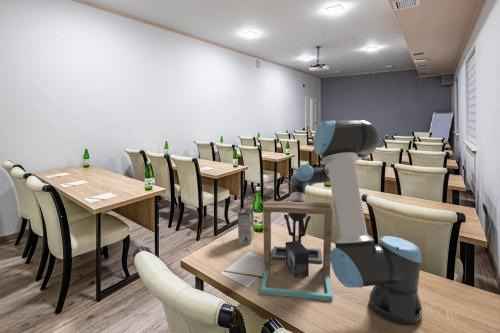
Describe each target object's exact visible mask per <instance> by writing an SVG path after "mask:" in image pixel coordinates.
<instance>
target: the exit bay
mask: <svg viewBox="0 0 500 333" xmlns="http://www.w3.org/2000/svg"><path fill="white" fill-rule="evenodd" d="M263 272H264V271H263ZM269 273H270V270H265V272H264V273H263V278H262V282H261V285H260V291H259V292H260V294H265V295H273V296H274V295H275V296H281V297H282V296H284V297H294V298H301V299H302V298H305V299H314V300H323V301H332V302H333V299H334V298H333V291H332V286H331V281H330V280H331V278H329V275H325V277H324V281H325V282H324V283H325V289H326V292H325V293H324V292H315V291H306V290H298V289H297V290H295V289H287V288H286V289H285V288H276V287H267V284H268V279H269Z"/></svg>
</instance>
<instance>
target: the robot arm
mask: <svg viewBox="0 0 500 333" xmlns="http://www.w3.org/2000/svg"><path fill="white" fill-rule="evenodd" d="M312 142H313V145H312V146H313V151H314V153H315V154H316V155H318V156H320V157H321V160H322V163H323V164H326V165H325V166H324V167H312V166H311V165H308V164H301V165H299V167H298V168H297V170H296V171H295V173H294V174H293V175H292V176H291V177H290V181H289V182H290V190H289V202H306V188H307V186H308V184H310V185H311V184H325V183H326V184H329V183H330V189H331V196H332V200H333V208H334V214H335V218H336V219H335V220H336V225H337V226H336V227H337V232H338V238H337V239H336V240H335V241H334V245H335V247H334V248H331V253H330V254H331V255H330V266H331V268H332V270H333V273H334V275H335V277H336V278H337V280H338V282H339V283H340V284H341V285H343V286H344V287H346V288H350V289H351V288H353V289H354V288H359V289H360V288H361V289H362V288H364V287H372V286H373V287H372V289H371V291H370V293H369V300H368V301H369V306H370V308H371V309H372V311H374V313H376V314H377V315H378V316H380V317H381V318H382V319H384V320H387V321H389V322H392V323H395V324H398V325H404V326H405V325H406V326H407V325H408V326H411V325H416V324H417V323H419V322H420V321H421V320H422V318H423V307H422V303H421V299H420V296H419V293H418V292H419V279H420V272H421V264H422V260H421V258H422V255H421V253H422V252H421V249H420V248H419V247H418V246H417V245H416V244H415V243H413V242H412V241H409V240H406V239H404V238H400V237H398V236H397V237H396V236H390V235H384V236H381V237H380V238H379V239H378V243H377V244H375V240H374V238H373V237H372V236H370V235H369V234H368V231H367V225H366V221H365V220H366V218H365V215H364V208H363V204H362V197H361V192H360V187H359V182H358V176H357V171H356V166H355V164H356V163H357V162H358V161H359V160H361V159H362V158H363V159H364V158H367V157H368V156H370V155H371V154H372V153H374V151H375V150H376V149H377V147H378V146H379V142H380V134H379V131H378V129H377V127H376V126H375V125H374V124H373V123H371V122H369V121H367V120H364V119H363V120H362V119H357V120H354V119H353V120H350V119H349V120H334V119H332V120H325V121H321V122H320V123H319V124H318V125H317V127H316V129H315V132H314V134H313V141H312ZM283 218H284V220H285V222H286V227H287V230H288V235H289V236H291V237H292V241H299V242H300V243H301V244H302V238H303V237H306V233H307V229H308V225H309V222H310V221H311V215H309V214H303V213H284V215H283ZM290 219H291V220H292V228H291V224H290ZM304 219H305V223H304V226H303V230H302V221H303V220H304ZM297 222H298V232H297V233H298V235H296V229H297V228H296V226H297V224H296V223H297Z"/></svg>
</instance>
